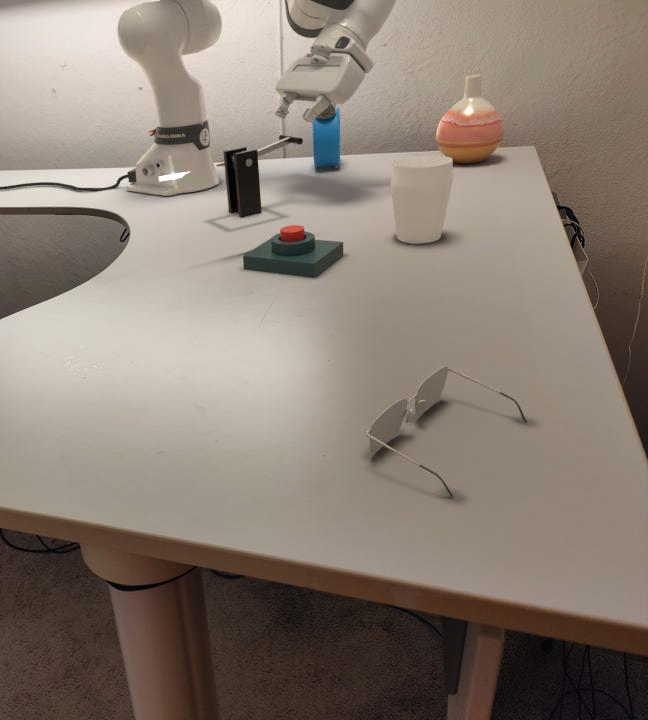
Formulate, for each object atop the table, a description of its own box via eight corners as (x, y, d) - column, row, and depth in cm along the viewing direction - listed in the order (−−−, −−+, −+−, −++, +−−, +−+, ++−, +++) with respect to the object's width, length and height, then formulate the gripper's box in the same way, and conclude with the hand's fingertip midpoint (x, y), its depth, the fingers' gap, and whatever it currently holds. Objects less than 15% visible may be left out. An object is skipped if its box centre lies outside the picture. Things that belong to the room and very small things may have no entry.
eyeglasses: (444, 393, 65) (450, 358, 63) (527, 426, 60) (537, 389, 58) (362, 461, 57) (365, 424, 55) (449, 506, 52) (457, 466, 50)
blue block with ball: (340, 171, 152) (339, 102, 145) (312, 173, 154) (310, 105, 147) (340, 159, 163) (339, 95, 157) (314, 161, 165) (313, 97, 158)
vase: (514, 157, 145) (523, 70, 137) (475, 170, 139) (482, 80, 131) (460, 152, 156) (465, 71, 148) (421, 164, 150) (425, 80, 142)
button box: (243, 269, 102) (241, 244, 101) (275, 248, 109) (273, 225, 108) (315, 278, 96) (314, 251, 94) (343, 255, 103) (343, 230, 101)
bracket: (260, 208, 133) (256, 142, 127) (285, 216, 125) (281, 147, 119) (207, 221, 129) (200, 153, 123) (228, 231, 121) (222, 159, 115)
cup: (386, 246, 104) (388, 169, 98) (392, 229, 111) (393, 156, 106) (448, 246, 101) (453, 166, 95) (449, 228, 108) (454, 153, 103)
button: (276, 242, 101) (275, 231, 100) (287, 235, 103) (287, 224, 102) (297, 244, 99) (297, 233, 98) (308, 237, 101) (308, 226, 100)
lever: (285, 142, 128) (282, 130, 127) (304, 146, 123) (301, 133, 121) (227, 167, 125) (224, 154, 124) (244, 172, 119) (241, 159, 118)
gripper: (293, 43, 129) (253, 104, 130) (359, 40, 112) (312, 111, 113) (313, 64, 132) (274, 124, 133) (380, 65, 115) (334, 133, 116)
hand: (292, 118), depth 123 cm, fingers open, 8 cm apart
